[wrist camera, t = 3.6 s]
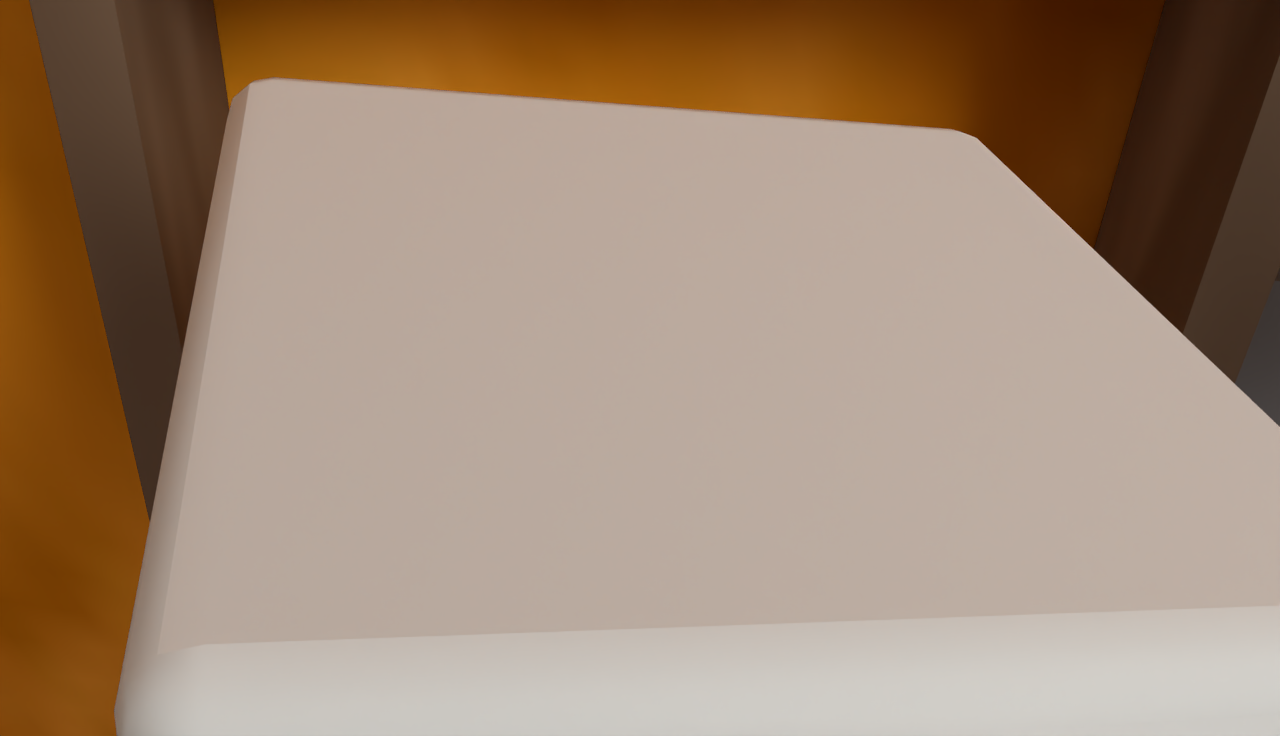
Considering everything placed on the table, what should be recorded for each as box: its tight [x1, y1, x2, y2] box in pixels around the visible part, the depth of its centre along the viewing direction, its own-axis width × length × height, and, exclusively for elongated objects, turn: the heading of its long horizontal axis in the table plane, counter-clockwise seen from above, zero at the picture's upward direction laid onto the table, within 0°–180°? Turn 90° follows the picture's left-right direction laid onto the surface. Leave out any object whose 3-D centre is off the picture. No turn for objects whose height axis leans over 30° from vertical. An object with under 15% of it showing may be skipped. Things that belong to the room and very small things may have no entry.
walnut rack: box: [29, 0, 1280, 520], centre depth 19 cm, size 16×13×4 cm
